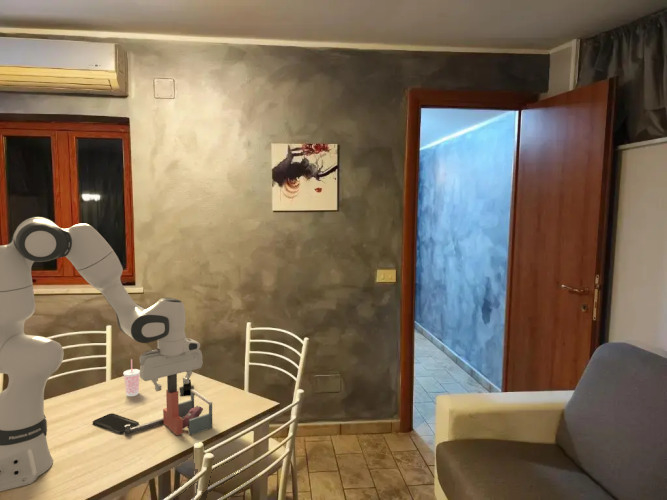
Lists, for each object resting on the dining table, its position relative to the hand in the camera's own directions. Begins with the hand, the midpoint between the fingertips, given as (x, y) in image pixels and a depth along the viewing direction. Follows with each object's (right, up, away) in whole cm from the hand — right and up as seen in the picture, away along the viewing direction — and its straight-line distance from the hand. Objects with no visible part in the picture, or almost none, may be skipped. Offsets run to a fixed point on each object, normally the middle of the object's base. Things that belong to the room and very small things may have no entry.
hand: (172, 386), depth 152 cm
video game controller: (+4, -15, +6) cm, 16 cm away
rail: (-9, -15, +2) cm, 17 cm away
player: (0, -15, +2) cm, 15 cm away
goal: (+5, -14, +6) cm, 16 cm away
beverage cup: (-26, -12, +29) cm, 41 cm away
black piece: (-6, -12, +33) cm, 36 cm away
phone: (-21, -15, +4) cm, 26 cm away
